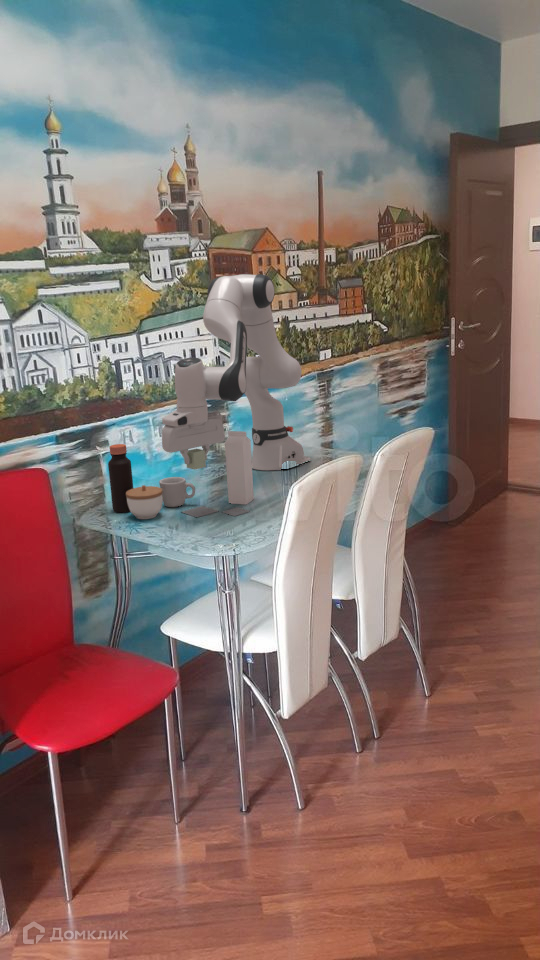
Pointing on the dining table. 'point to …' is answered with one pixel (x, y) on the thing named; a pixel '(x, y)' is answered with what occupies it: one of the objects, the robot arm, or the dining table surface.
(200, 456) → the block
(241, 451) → the milk
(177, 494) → the cup
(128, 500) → the lidded jar
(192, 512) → the thin grey square tile
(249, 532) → the dining table surface
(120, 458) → the vinegar
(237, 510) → the grey square coaster
